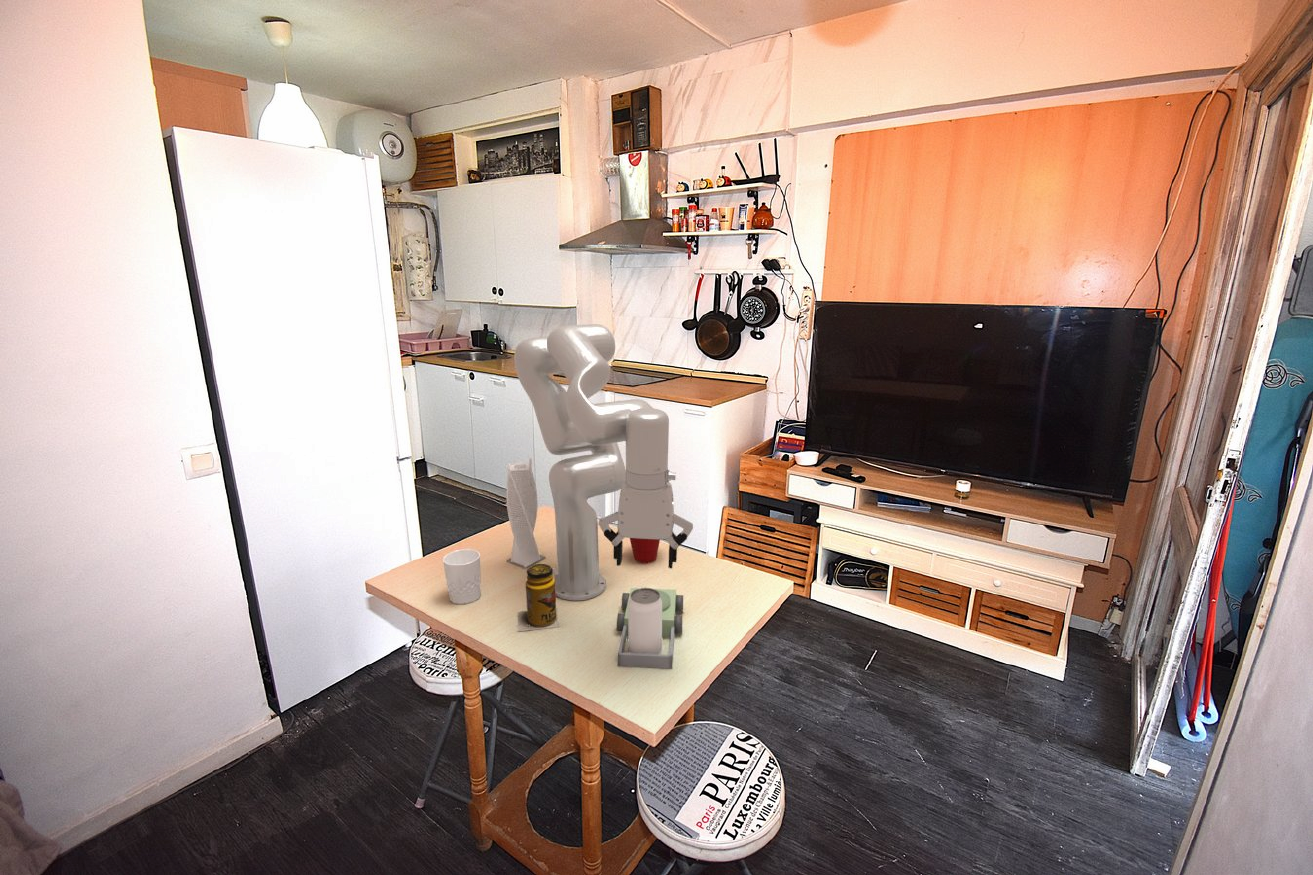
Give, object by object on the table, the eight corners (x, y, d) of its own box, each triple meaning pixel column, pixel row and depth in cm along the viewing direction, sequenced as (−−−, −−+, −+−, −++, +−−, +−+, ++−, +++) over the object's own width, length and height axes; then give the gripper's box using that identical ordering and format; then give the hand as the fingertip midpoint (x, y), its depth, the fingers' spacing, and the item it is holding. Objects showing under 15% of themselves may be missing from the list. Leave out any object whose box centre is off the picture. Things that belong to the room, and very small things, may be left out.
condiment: (559, 627, 120) (557, 574, 117) (517, 632, 118) (514, 579, 115) (557, 608, 127) (554, 558, 124) (517, 613, 125) (514, 562, 122)
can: (624, 658, 110) (624, 602, 107) (633, 638, 116) (632, 584, 113) (658, 662, 108) (658, 606, 105) (664, 642, 114) (665, 588, 111)
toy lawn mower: (609, 665, 108) (609, 642, 106) (623, 603, 128) (623, 583, 127) (680, 668, 107) (680, 645, 105) (683, 606, 127) (683, 585, 126)
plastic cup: (639, 545, 157) (639, 504, 154) (673, 555, 151) (673, 513, 148) (615, 560, 148) (614, 517, 145) (649, 572, 143) (649, 527, 140)
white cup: (466, 584, 136) (463, 546, 134) (490, 593, 133) (487, 553, 130) (439, 600, 130) (435, 559, 127) (464, 609, 126) (460, 568, 123)
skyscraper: (549, 559, 149) (544, 455, 142) (526, 572, 142) (520, 464, 135) (526, 551, 153) (520, 450, 146) (503, 563, 147) (495, 458, 140)
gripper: (695, 472, 106) (691, 556, 111) (601, 468, 107) (602, 551, 112) (694, 487, 99) (691, 576, 104) (595, 483, 100) (595, 571, 105)
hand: (645, 563), depth 108 cm, fingers open, 9 cm apart
